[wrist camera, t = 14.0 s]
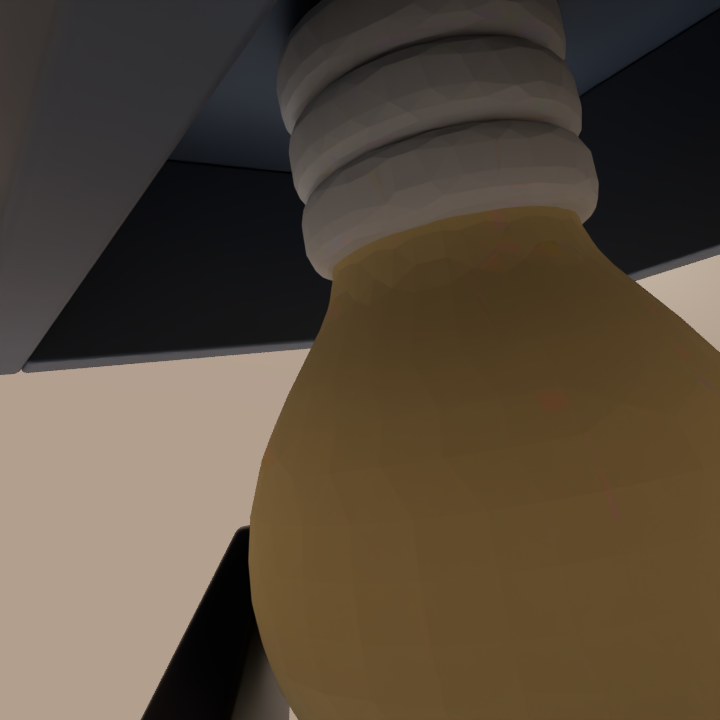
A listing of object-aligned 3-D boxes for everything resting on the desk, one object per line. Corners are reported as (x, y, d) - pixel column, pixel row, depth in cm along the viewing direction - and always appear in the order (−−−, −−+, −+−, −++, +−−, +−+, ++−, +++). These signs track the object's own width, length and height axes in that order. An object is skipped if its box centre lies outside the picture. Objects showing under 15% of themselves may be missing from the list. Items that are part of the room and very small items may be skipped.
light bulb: (103, 108, 9) (213, 823, 8) (324, -408, 4) (686, 1394, 3) (430, 150, 13) (530, 647, 12) (769, -87, 8) (991, 767, 7)
